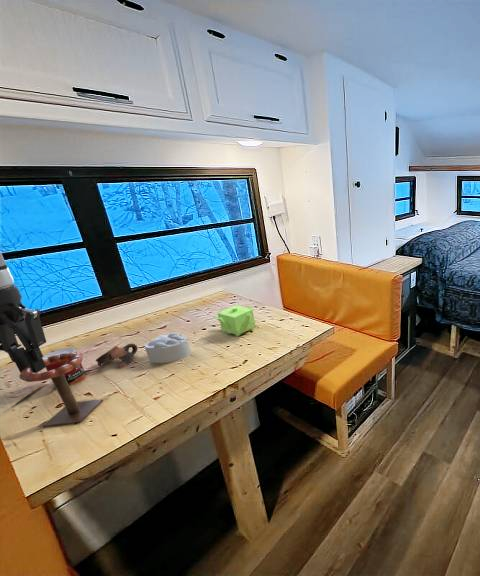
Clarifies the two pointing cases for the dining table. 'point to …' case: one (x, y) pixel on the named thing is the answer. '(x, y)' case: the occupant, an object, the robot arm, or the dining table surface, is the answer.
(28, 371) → the ring
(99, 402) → the post
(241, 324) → the knobby lime green cube
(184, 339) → the lumpy-topped squat cylinder
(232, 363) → the dining table surface
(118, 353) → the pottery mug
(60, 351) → the canned food
